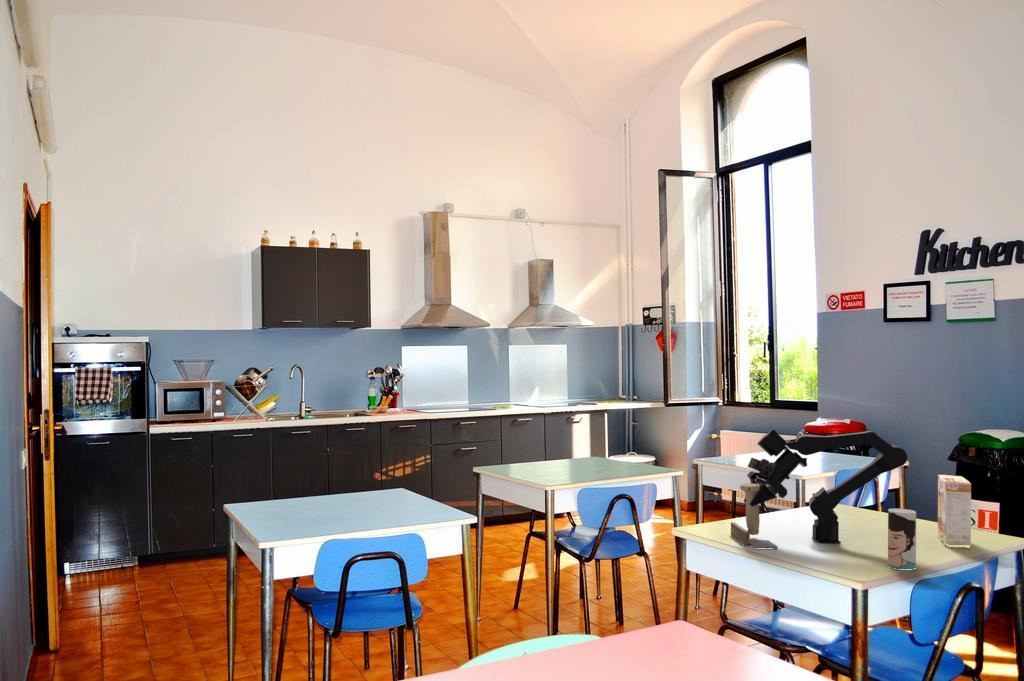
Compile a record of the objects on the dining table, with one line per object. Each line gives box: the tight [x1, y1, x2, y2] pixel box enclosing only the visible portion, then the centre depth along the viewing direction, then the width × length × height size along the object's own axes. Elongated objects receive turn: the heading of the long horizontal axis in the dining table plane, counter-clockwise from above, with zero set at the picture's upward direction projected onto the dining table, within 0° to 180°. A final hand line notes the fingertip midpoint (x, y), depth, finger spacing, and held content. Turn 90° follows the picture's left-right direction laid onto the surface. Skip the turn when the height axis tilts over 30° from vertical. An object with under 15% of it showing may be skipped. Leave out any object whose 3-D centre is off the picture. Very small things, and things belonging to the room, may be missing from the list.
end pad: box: [750, 539, 779, 550], centre depth 241 cm, size 7×8×1 cm
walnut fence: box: [730, 521, 751, 547], centre depth 247 cm, size 1×15×4 cm, turn 1°
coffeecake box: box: [937, 474, 972, 547], centre depth 249 cm, size 15×7×20 cm, turn 160°
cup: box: [887, 507, 917, 570], centre depth 219 cm, size 7×7×15 cm
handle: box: [739, 482, 760, 536], centre depth 251 cm, size 5×6×15 cm
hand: (747, 503), depth 250 cm, fingers closed on handle, 4 cm apart
